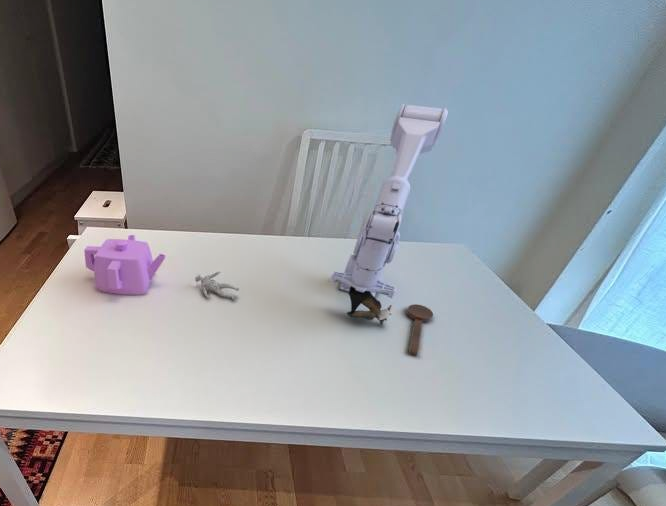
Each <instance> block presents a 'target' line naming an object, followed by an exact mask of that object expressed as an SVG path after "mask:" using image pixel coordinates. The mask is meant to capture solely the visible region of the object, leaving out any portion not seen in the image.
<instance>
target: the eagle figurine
mask: <svg viewBox="0 0 666 506" xmlns="http://www.w3.org/2000/svg"><path fill="white" fill-rule="evenodd" d="M361 304H362V305H363V306H364V307H366V308H367V309H368V310H355V312H354V313H352V314H350V313H351V310H350V311H347V312H346V315H347V316H348V317H350V318H351V319H355V320H356V319H357V320H358V319H360V320H361V319H363V320H367V321H373V320H375V318H376V319H377V321H379V325H380V326H383V324H384V322H385V321H386V322H387V321H388V317H389V316H391V315H392V313H390V311H391V308H392V306H393V305H392V304H390V305H389V306H387V308H384V309H382V307H383V306H382V302H381V301H380V300H379V299H377V298H376V296H375V297H374V296H373V295H372V294H371V293H370V294H369V296H368V298H367V299H366V300H364V301H363V302H362V303H361Z"/></svg>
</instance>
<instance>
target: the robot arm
mask: <svg viewBox="0 0 666 506" xmlns="http://www.w3.org/2000/svg"><path fill="white" fill-rule="evenodd" d="M448 114H449V111H448V108H446V107H444V108H439V107H431V106H421V105H411V104H407V103H402V104H401V105H400V106H399V108H398V109H397V113H396V115H395V119H394V122H393V125H392V129H391V132H390V133H391V135H390V139H389V140H390V144H389V145H390V146H391V147H392V148H393V149H395V151H396V156H395V161H394V165H393V169H392V172H391V175H390V177H388V178H387V179H386V180H384V181H383V182H382V184H381V186H380V189H379V190H380V191H379V192H378V196H377V199H376V202H375V204H374V207H373V209H372V212H370V213H369V215H368V216H367V220H366V224H365V225H363V227H361V229H360V232H359V234H358V237H357V239H356V243H355V246H354V249H353V254H350V255H349V258H348V261H347V263H346V266H345V269H344V272H339V271H333V272H332V274H331V278H330V281H329V282H330V283H333V284H334V283H339V284H340V286H339V290H342V291H344V292H348V296H349V299H350V306H351V307H350V311H351V313H350V314H352V313H354V312H355V311H357V309H358V307H360V305H361V304H362V302H363V301H364V300H366V299H367V298H368V296H369V294H370V293H371V294H372V295H373V296H374V297H375V298H376V294H380V295H384V296H387V298H389V299H393V297H394V296H395V295H394V294H395V292H396V286H392V285H389V284H387V283H385V282H383V281H380V279H381V276H382V273H383V271H384V268H385V267H386V264H387V265H388V264H390V263H392V262H393V260H394V257H395V254H396V252H397V249H398V246H399V243H400V240H401V239H400V238H401V232H400V231H399V230H400V226H401V225H402V220H403V219H402V218H403V214H404V209H405V206H406V203H407V200H408V197H409V195H410V191H411V187H412V186H411V184H410V182H409V180H410V177H411V174H412V172H413V169H414V166H415V164H416V161H417V160H418V159H419V158H420V156H421V155H422V154H425V153H429V152H431V151H432V149H433V148H434V147H435V146H436V143H437V141H438V139H440V135H441V134H442V131H443V128H444V125H445V122H446V119H447V117H448Z"/></svg>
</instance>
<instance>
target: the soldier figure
mask: <svg viewBox="0 0 666 506" xmlns="http://www.w3.org/2000/svg"><path fill="white" fill-rule="evenodd" d="M219 274H222V272H221V271H216V272H214V273H211V274H208V275H205V276H204V277H203V276H202V275H201V274H196V276H195V278H194V281H195V282H196V283H198V282H200V287H201V289H202V292H203V295H204V296H205V298H207V299H208V298H209V295H208V291H212V292H213V293H215V294H217V295H219V296H221V297H223V298H231V299H232V300H234V299H235V297H236V296H235V295H232V294H229V293H227V292H225V291H223V290H224V289H230V290H234V291H236V292H239V290H240V288H238V287H235V286H234V285H232V284H230V283H223V282H222V283H219V282H217V281H216V280H215V279H213V278H215V277H216V276H219ZM207 290H208V291H207Z"/></svg>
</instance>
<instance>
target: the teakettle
mask: <svg viewBox="0 0 666 506" xmlns="http://www.w3.org/2000/svg"><path fill="white" fill-rule="evenodd" d="M127 237H128V238H127V239H124V238H123V239H121V238H107V239H105V240H104V242H103V243H102V244H101V246H93V245H87V246H86V247H85V248H84V252H83V253H84V261H85V268H86V269H88V270H90V271H92V272H94V282H95V285H96V287H97V289H98V291H100V292H103V293H110V294H115V295H125V296H126V295H127V296H129V295H130V296H142V295H145V294H146V293H147V291H148V289H149V287H150V285H151V282H152V280H153V277H154V276H155V274H156V272H157V271H158V270H159V268H160V266H161V265H162V264H163V262H164V261H165V259H166V257H167V255H166V254H164V253H159V254H158V255H157V257H156V258H155V259H154V258H153V254H152V252H151V249H150V246H149V243H148V242H146V241H141V240H136V235H135V234H129V235H128V236H127Z"/></svg>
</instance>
